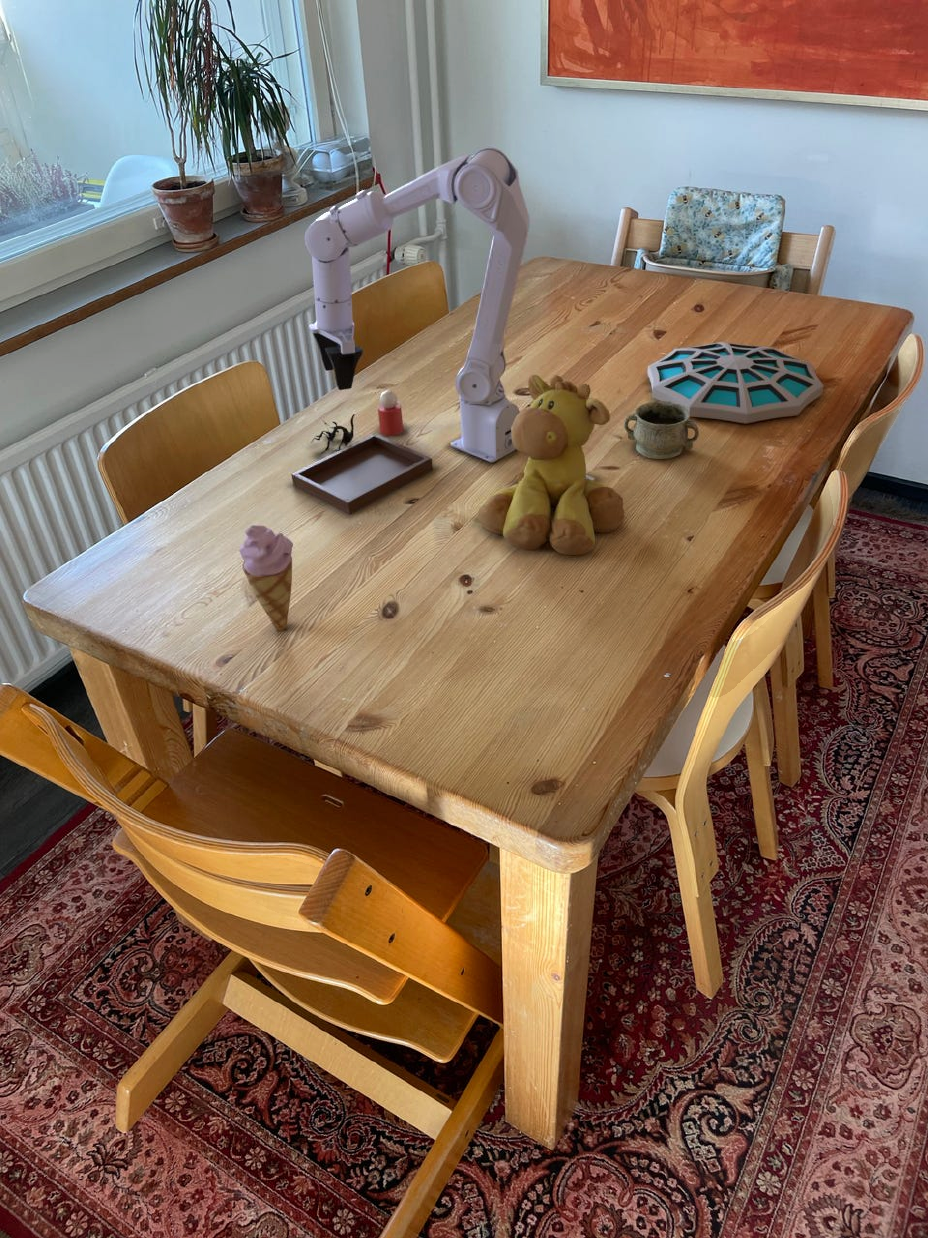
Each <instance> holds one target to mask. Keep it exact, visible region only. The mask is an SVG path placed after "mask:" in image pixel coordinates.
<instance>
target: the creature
mask: <svg viewBox="0 0 928 1238" xmlns="http://www.w3.org/2000/svg"><path fill="white" fill-rule="evenodd" d="M355 416H356V413H353V414H352V416H351V417H350V420H349V422H350V423H349V424H350V431H349V430H348V428H346V427H344V426H342V425H338V424H337V422H336V421H332V424H334V425H335V426H330V425H329V423H327V422H325V420H323V419H321V421H322V422H323V423H324V425H325V426H327V427H326V428H327V430H321V432H320V434H318V435H316V436H314V437H313V439H312V441H311V443H310V444H312V443H313V442H314V440H316V441H320V440H321V438H322V437H323V435H325V437H326V439H327V444H326V447H325V449H324V450H323V451H321V452H320V453H318V454H317V455H316V456H317V457H319V456H321V455H323V454H324V453H325V452H327V451H330V449H329V448H330V444H331V442H332V443H335V441H334V439H335V438H336V434H337V433H340V431H339V430H342V433H343V434H342V439H340V441H341V442H340V444H339V446H338V449H335V450H332V452H333V451H335V452H337V451H339V450H341V447H342V445H343V444H344V445H345V446H346V447H348V446H347V445H348V444H349V443H351V441H353V438H354V417H355ZM328 426H329V428H330V429H332V431H331V432H330V430H329V428H328ZM324 432H325V433H324Z"/></svg>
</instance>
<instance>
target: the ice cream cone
mask: <svg viewBox="0 0 928 1238" xmlns="http://www.w3.org/2000/svg"><path fill="white" fill-rule="evenodd" d="M244 533H245V536H247V537H245V538H244V541H243V544H242V545H241V546H240V547H239V548H238V552H239V554H240V556H241V559H242V560H243V563H242V571H243V573H244V575H245V577H246V579H247V582H248V584H249V586H250V587H251V589H252V591H253V593H254V595H255V597H256V599H257V601H258V602H259V604H260V606H261V607H262V609H263V611H264V612H265V614H266V616H267V618H268V619H269V621H270V622H271V624H272V625H273V627H274V629H275V630H276V631H278V632H282V631H285V630H286V629H287V626H288V618H289V611H290V604H291V595H292V582H293V556H292V552H293V547H294V543H293V542H292V540H291V539H290V538H288V536H285V535H284V534H283V533H282V532H279V533H277V534H276V533H275V532H274V531H273V530H272V529H271V528H268V527H267V526H265V525H250V526H249V527H247V528H246V529H245V531H244Z"/></svg>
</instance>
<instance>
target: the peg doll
mask: <svg viewBox="0 0 928 1238" xmlns="http://www.w3.org/2000/svg"><path fill="white" fill-rule="evenodd" d="M379 402H380V403H379V405H378V406H377V415H378V425H379V432H380V434H381V435H384V436H389V437H390V436H391V437H392V436H397V435H400V434H402V433H403V432H404V422H403V421H404V419H403V410H402V405H401V403H400V402H398V396H397V394H396V393H395V392H394V391H392V390H389V389H387V390H384V391H382V393H381V394H380V396H379Z"/></svg>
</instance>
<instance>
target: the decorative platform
mask: <svg viewBox="0 0 928 1238" xmlns="http://www.w3.org/2000/svg"><path fill="white" fill-rule="evenodd" d="M646 373H647V377H648V379H649V381H650V384H651V398H653V399H655V400H656V401H663V402H673V403H677V404H680V405H682V406H684V407H685V408H686V409H687V410H688V411H689V412H690V418H691V417H692V418H703V419H714V420H721V421H728V422H734V423H740V424H746V425H747V424H751V423H756V422H760V421H766V420H771V419H772V420H773V419H777V418H786V417H793V416H796V417H797V416H799V415H800V413H802V411H803V410H804V409H805V408H806V407H807V406H808V405H809V404H810V403H812V402H813V401H815V400H816V399H818V398H819V397H821V396H822V395H823V392H824V384H823V383H822V381H821V380H820V379H819V378H818V376H817V375H816V372H815V370H814V367H813V364H812V362H809V361H806V360H803V359H801V358H798V357H795V356H792V355H790V354H787V353H786V352H783V351H781V350H779V349H777V348H776V347H775V348H774V347H773V346H759V345H749V344H738V343H731V342H724V341H718V342H714V343H708V344H702V345H695V346H689V347H687V346H686V347H679V348H678V347H677V348H674V349H672V350H671V351H670V352H669V353H668V354H666V355H665V356H664V357H662V358H660V359H658V360H657V361H655V362H653V363H651V364H649V365H648V366H647V372H646Z"/></svg>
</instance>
